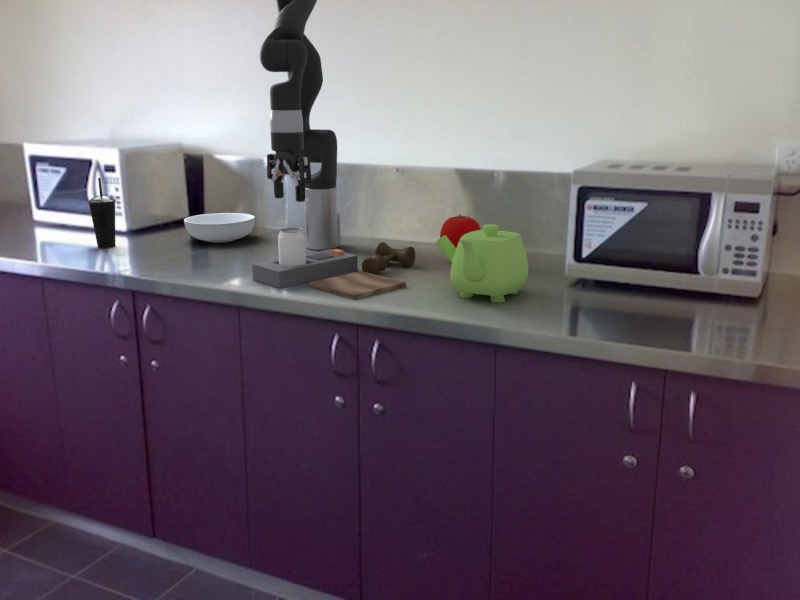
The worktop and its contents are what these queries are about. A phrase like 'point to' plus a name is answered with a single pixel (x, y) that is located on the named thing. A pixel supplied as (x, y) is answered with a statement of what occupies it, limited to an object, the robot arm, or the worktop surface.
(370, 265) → the kendama
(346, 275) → the walnut board
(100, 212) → the drinking cup
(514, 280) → the teapot
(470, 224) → the tomato
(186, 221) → the serving bowl
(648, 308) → the worktop surface
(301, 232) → the can
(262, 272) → the grey block with hole
